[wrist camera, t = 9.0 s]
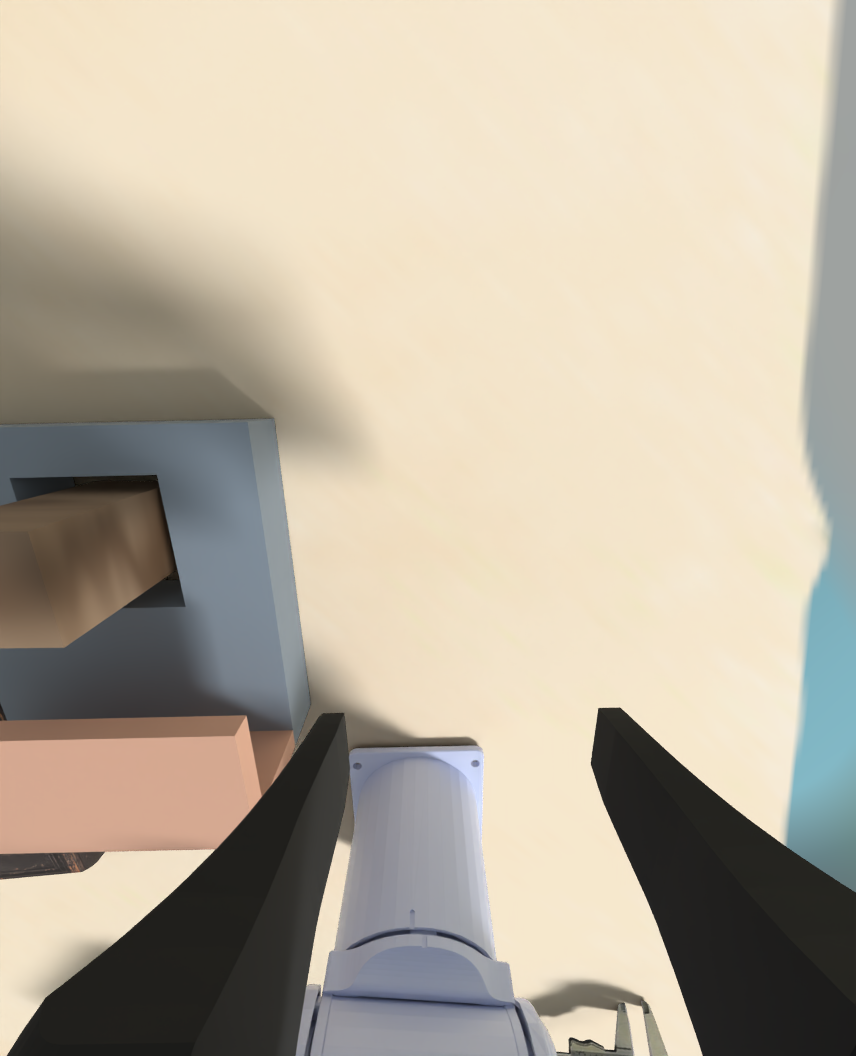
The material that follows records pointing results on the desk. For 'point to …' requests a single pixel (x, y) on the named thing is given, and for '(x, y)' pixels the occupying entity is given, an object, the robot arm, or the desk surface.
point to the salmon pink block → (132, 782)
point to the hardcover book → (44, 859)
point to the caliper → (621, 1038)
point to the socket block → (173, 605)
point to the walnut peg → (78, 559)
